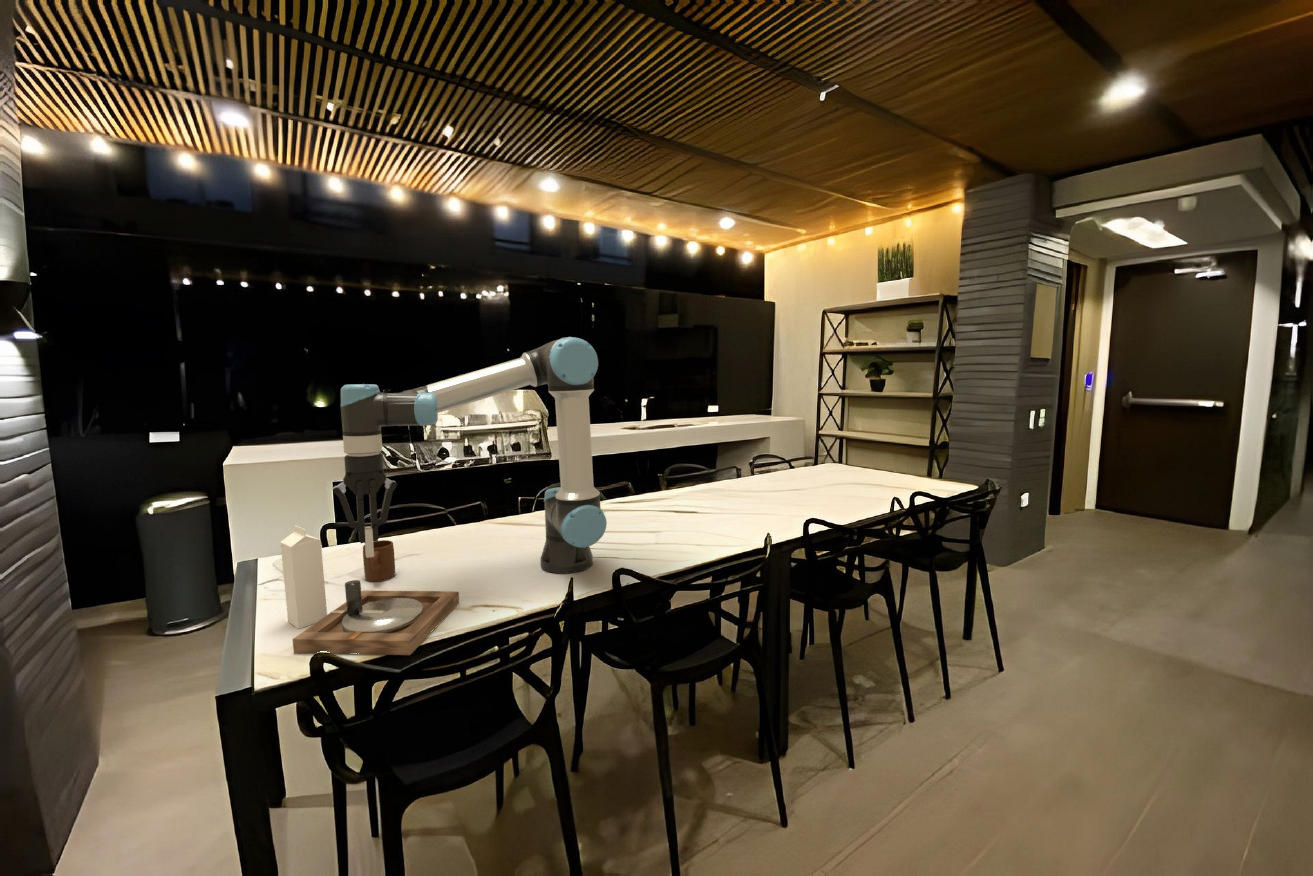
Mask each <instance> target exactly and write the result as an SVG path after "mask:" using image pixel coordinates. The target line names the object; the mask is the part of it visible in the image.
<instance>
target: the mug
mask: <svg viewBox="0 0 1313 876" xmlns="http://www.w3.org/2000/svg"><path fill="white" fill-rule="evenodd" d="M373 547H374V557H369V558H367V557H366V552H365V544H364V545H363V546H362V558H363V569H364V570H363V572H364V578H365V580H366V581H368V582H372V583H373V582H382V581H386V580H389V579H391V578H393V577H394V576H395V575H396V560H395V558H396V557H395V546H394V542H393V541H392V540H387V539H386V540H385V539H381V540H378V541H373Z"/></svg>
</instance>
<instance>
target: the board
mask: <svg viewBox="0 0 1313 876" xmlns="http://www.w3.org/2000/svg"><path fill="white" fill-rule="evenodd" d="M361 596H362V605H365V604H368V603H371V602H375V601H379V600H384V599H391V598H410V599H415V600H417V601H419V602H421V603H422V605H423V614H422V615H421V616H420V617H419V618H418V619H417V620H416V621H415V622H414V623H412V624H411V625H409V626H407V627H404V628H402V629H399V630H396V631H393V632H389V633H362V632H356V633H346V632H345V631H344V630H343V628H342V619H343V618H344V616H345V615H346V614H347V604H346V601H345V602H344V603H343V604H341V605H339V606H338V607H336V608H335V609H333V610H331V611H330V612H329V613H327V616H325V617H324V618H322V619H321V620H319V621H318V622H317V623H315V624H312V625H310V626H308V628H306V629H305V630H303V631H302V632H301V633H299V634H298V635H296V636H295V637H293V638H292V648H293V653H294V654H309V655H310V654H316V653H317V652H320V651H327V652H330V653H333V654H332V655H351V654H350V653H357V654H356V655H371V656H372V655H374V656H375V655H379V656H380V655H382V656H384V655H386V656H387V655H388V656H391V655H392V656H398V655H399V656H411V655H412V654H413V653H414V652H415V651H416V650H417V648H418V647H420V646H421V644H422V643H423V642H424V641H425V640H426V639H427V638H428V637H429V636H430V635H431V634H430V632H431V631H432V630H433V629H434V628H435V627H436V626H437V625H438V624H439V623H440V622H441V621H442V620H443V619H444V618H445V617H446V616H449V615H450V613H452V612H453V610H454V609H455V608H456V607H457V606H458V605H459V604H460V594H459V591H450V590H448V591H446V590H445V591H443V590H442V591H438V590H436V591H435V590H366V589H365V590H361ZM448 614H449V615H448ZM446 618H447V617H446ZM446 618H445V619H446ZM445 619H444V620H445ZM444 620H443V621H444ZM443 621H442V622H443ZM442 622H441V623H442ZM441 623H440V624H441ZM440 624H439V625H440ZM439 625H438V626H439ZM438 626H437V627H438ZM437 627H436V628H437ZM436 628H435V629H436ZM435 629H434V630H435ZM434 630H433V631H434ZM429 634H430V635H429ZM428 635H429V636H428ZM427 636H428V637H427ZM426 637H427V638H426ZM425 638H426V639H425ZM358 653H359V654H358Z"/></svg>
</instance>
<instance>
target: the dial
mask: <svg viewBox="0 0 1313 876" xmlns="http://www.w3.org/2000/svg"><path fill="white" fill-rule="evenodd" d="M361 585H362V584H361V580H359V579H353V580H352V579H351V580H349V581H347V582H345V583H344V589H345V602H346V604H347V614H346V615H345V616H344V618H343V619H342V628H343V630H344V631H345V632H346V633H356V632H362V633H389V632H393V631H396V630H399V629H402V628H404V627H407V626H409V625H411V624H412V623H414V622H415V621H416V620H417V619H418V618H419V617H420V616H421V615H422V614H423V605H422V603H421V602H419V601H417V600H415V599H410V598H391V599H384V600H379V601H375V602H371V603H368V604H365V605H362V596H361V591H362V586H361Z"/></svg>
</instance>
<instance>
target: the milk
mask: <svg viewBox="0 0 1313 876" xmlns="http://www.w3.org/2000/svg"><path fill="white" fill-rule="evenodd" d="M293 527H294V529H293V530H294V531H293V532H292V533H290V535H287V536H286V537H285V538H284V539H283V540H281V541H280V550H281V561H282V563H281V564H282V571H283V584H284V592H285V594H284V595H285V603H286V612H287V615H286V616H287V622H288V623H290V624H291V625H292V626H294V627H295V628H296V629H298V630H300V629H303V628H306V627H310V626H312V625H314V624H315V623H317V622H318V621H319V620H321V619H322V618H324V617H325V616H327V615H328V609H327V596H326V586H325V584H326V583H325V575H324V563H323V561H324V560H323V553H322V552H323V551H322V541H321V539H319V538H317V537H315V536H312V535H310V534H308V533H307V534H306V530H305V528H303V527H300V526H299V525H293Z"/></svg>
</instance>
